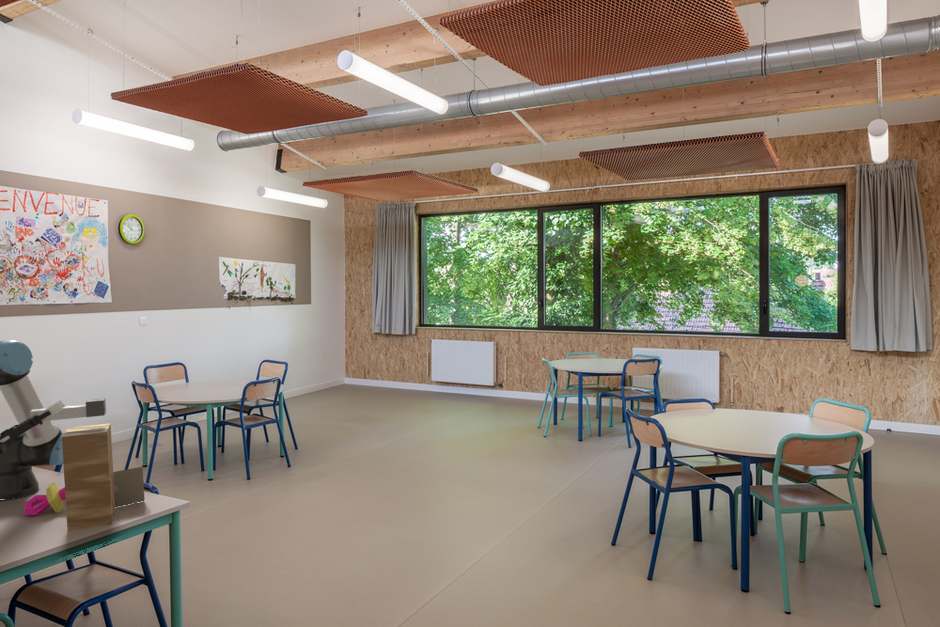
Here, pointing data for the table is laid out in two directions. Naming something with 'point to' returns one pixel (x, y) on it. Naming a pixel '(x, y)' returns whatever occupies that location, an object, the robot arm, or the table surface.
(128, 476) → the laptop
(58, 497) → the toy
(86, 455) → the stand
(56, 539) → the table surface
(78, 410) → the metal block
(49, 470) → the table surface
